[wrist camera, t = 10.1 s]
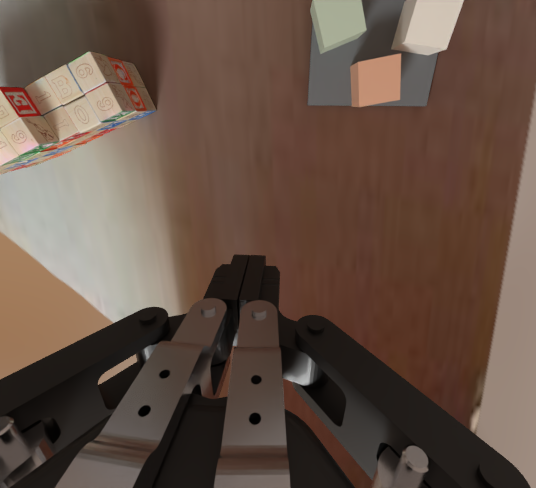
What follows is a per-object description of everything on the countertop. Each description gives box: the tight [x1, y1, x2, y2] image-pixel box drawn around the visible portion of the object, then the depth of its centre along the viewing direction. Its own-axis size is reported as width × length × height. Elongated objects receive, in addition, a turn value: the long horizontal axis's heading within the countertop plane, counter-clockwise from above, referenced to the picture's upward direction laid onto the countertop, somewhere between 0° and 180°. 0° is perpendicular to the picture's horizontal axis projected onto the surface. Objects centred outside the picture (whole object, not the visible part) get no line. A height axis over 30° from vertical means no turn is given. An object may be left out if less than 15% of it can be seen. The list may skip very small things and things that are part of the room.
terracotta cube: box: [350, 53, 401, 107], centre depth 34 cm, size 4×4×4 cm
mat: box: [307, 0, 438, 106], centre depth 35 cm, size 11×15×1 cm
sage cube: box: [310, 0, 367, 54], centre depth 32 cm, size 4×4×4 cm
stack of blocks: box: [0, 51, 157, 174], centre depth 36 cm, size 21×6×12 cm, turn 111°
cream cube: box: [391, 0, 464, 55], centre depth 32 cm, size 4×4×4 cm
